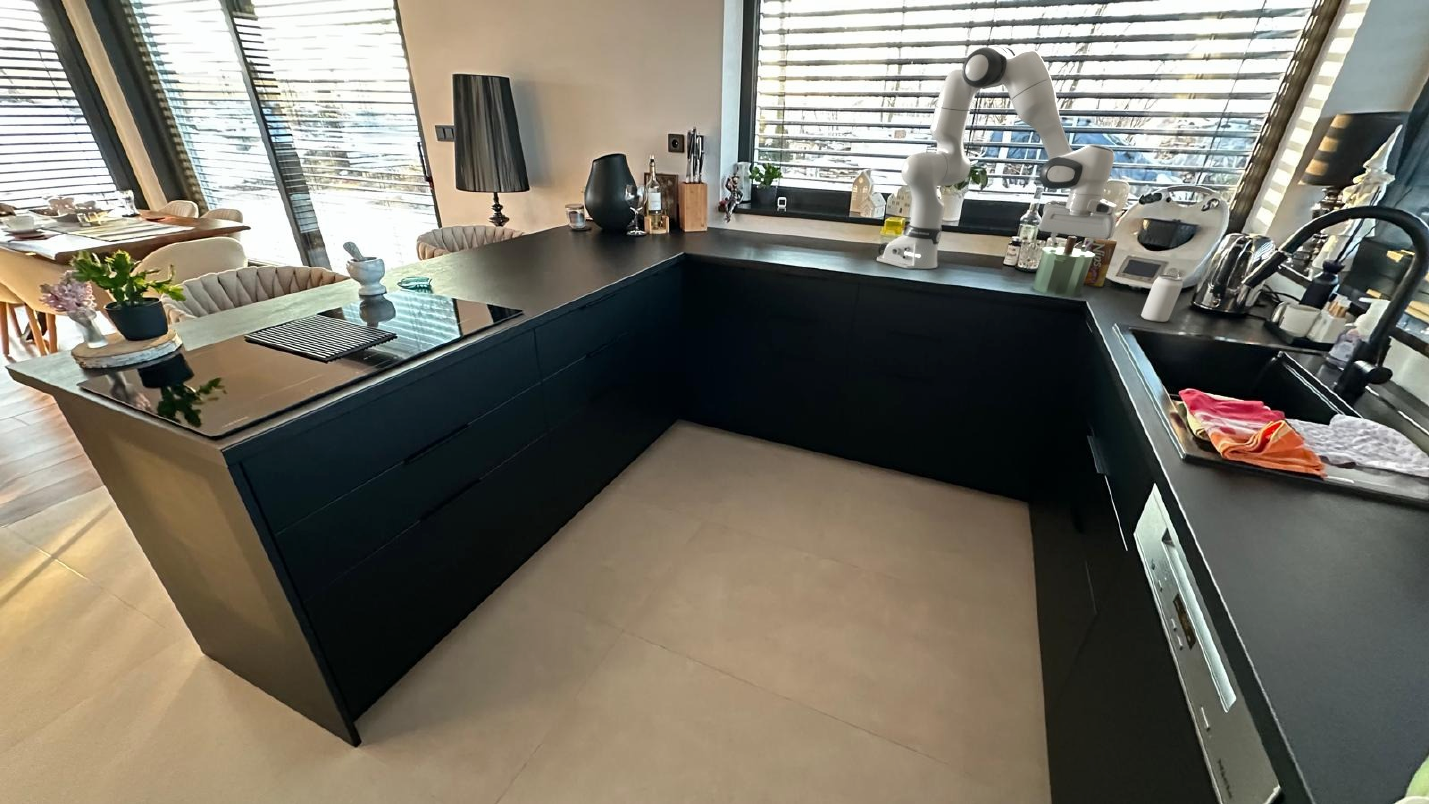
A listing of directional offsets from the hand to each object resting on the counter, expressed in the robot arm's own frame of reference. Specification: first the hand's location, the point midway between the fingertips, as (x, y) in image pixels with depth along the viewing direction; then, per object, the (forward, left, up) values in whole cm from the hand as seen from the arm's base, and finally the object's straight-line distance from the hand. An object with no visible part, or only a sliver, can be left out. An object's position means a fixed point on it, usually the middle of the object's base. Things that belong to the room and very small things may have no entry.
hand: (1068, 249), depth 175 cm
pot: (0, 0, -14) cm, 14 cm away
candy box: (+5, +18, -14) cm, 23 cm away
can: (+28, -9, -14) cm, 33 cm away
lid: (0, 0, -1) cm, 1 cm away
